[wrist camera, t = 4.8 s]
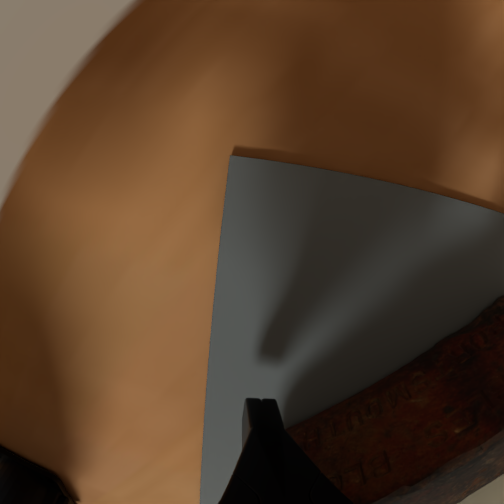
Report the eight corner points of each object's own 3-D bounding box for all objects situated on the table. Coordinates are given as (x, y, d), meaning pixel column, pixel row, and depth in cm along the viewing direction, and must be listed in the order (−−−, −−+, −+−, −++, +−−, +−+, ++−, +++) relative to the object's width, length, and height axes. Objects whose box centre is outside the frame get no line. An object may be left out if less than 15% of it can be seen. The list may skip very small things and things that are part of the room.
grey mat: (199, 526, 14) (198, 529, 13) (230, 155, 8) (230, 155, 8) (481, 497, 14) (482, 499, 14) (615, 258, 8) (617, 259, 8)
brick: (509, 275, 9) (597, 335, 4) (520, 346, 9) (581, 408, 5) (260, 431, 10) (258, 540, 6) (310, 474, 11) (320, 563, 7)
